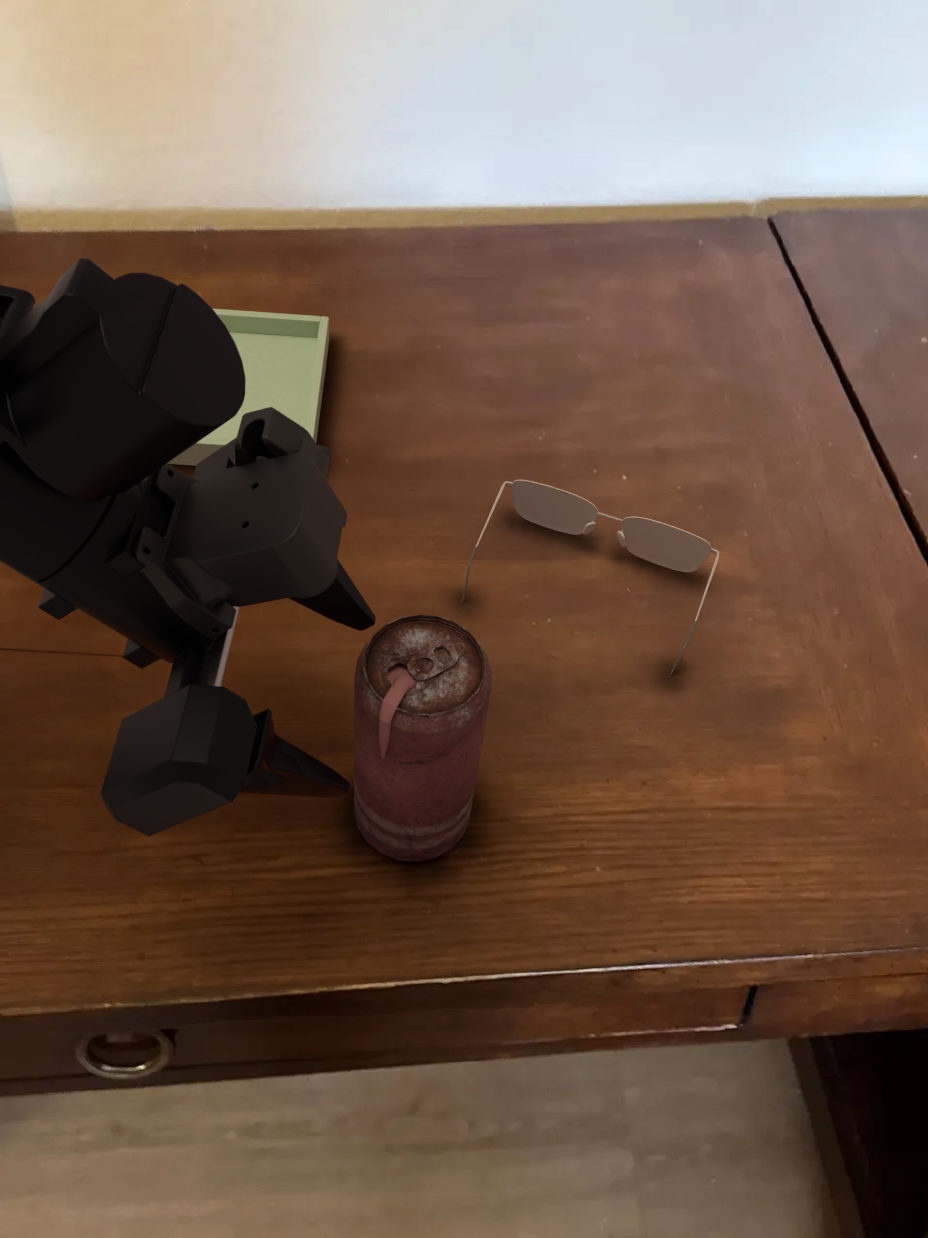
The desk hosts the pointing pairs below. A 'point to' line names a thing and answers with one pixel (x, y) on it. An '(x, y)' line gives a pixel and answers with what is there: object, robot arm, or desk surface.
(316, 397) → the tray
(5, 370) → the robot arm
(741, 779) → the desk surface
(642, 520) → the eyeglasses
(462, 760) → the can
